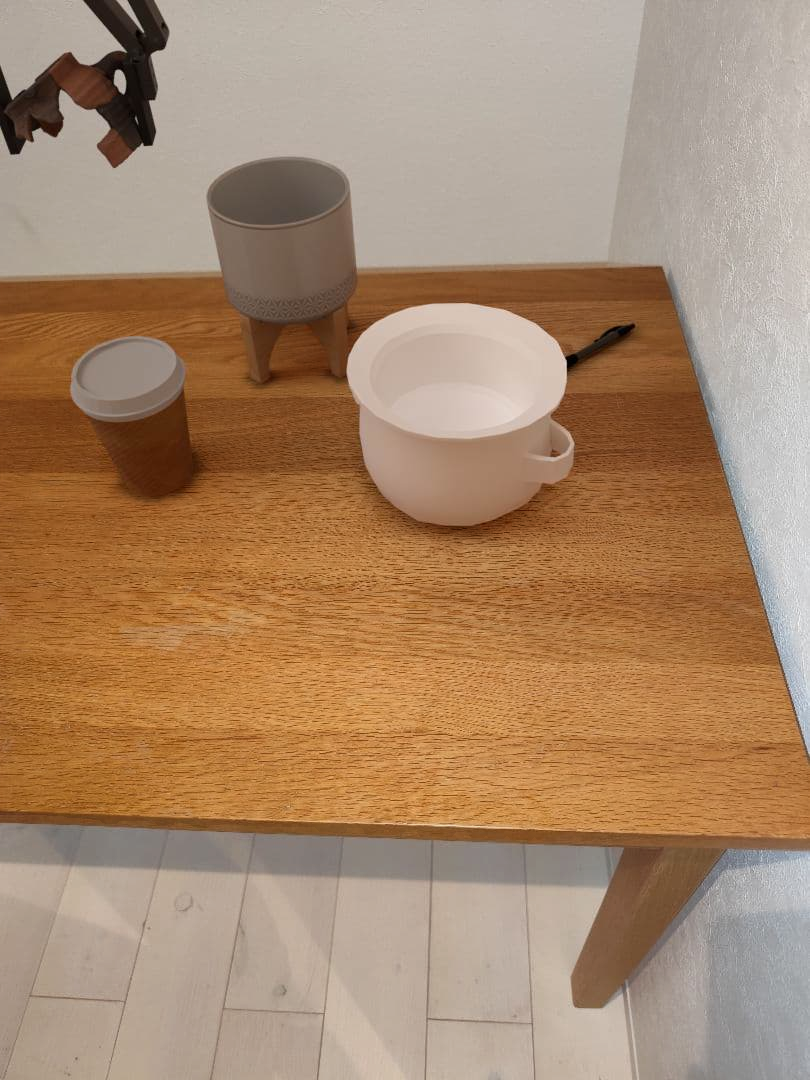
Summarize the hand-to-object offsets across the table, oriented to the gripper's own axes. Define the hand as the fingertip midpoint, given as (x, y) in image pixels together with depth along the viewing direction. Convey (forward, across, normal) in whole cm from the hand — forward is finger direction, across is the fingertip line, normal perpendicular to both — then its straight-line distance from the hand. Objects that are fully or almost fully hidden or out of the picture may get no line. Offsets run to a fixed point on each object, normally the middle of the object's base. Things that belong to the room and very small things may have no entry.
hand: (84, 143), depth 76 cm
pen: (+23, +45, -3) cm, 51 cm away
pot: (+24, +30, -19) cm, 42 cm away
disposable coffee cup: (+24, +3, -16) cm, 29 cm away
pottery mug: (0, +1, 0) cm, 1 cm away
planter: (+24, +16, +1) cm, 28 cm away
